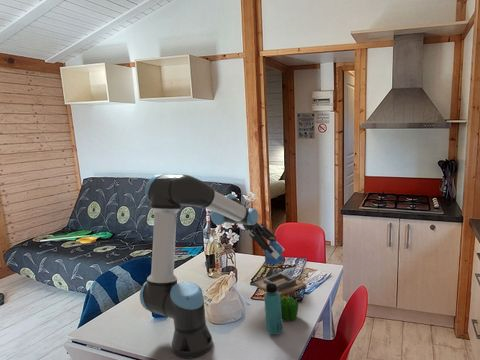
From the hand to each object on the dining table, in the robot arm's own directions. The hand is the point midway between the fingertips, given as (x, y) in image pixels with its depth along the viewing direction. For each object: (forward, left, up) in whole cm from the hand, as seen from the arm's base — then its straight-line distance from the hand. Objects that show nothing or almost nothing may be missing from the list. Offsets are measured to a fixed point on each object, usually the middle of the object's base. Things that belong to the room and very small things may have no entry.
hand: (280, 254), depth 177 cm
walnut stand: (+1, 0, -17) cm, 17 cm away
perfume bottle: (+3, +2, -4) cm, 6 cm away
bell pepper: (-24, +16, -17) cm, 33 cm away
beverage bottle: (-29, +27, -17) cm, 42 cm away
